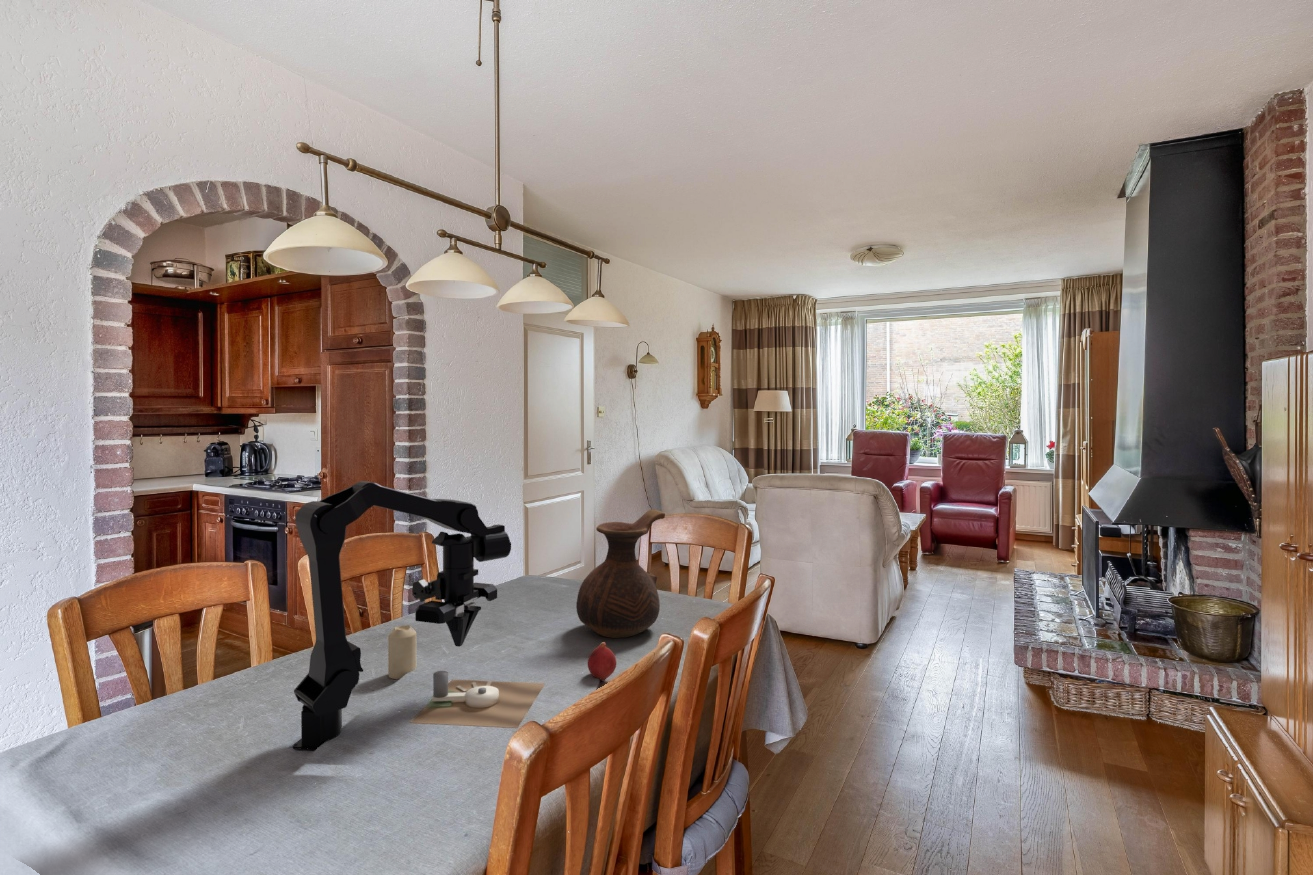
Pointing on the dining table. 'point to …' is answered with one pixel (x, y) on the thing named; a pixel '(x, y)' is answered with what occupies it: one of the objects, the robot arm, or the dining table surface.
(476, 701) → the needle
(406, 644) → the candle
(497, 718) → the dial board
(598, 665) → the onion
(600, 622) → the jug
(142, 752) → the dining table surface
